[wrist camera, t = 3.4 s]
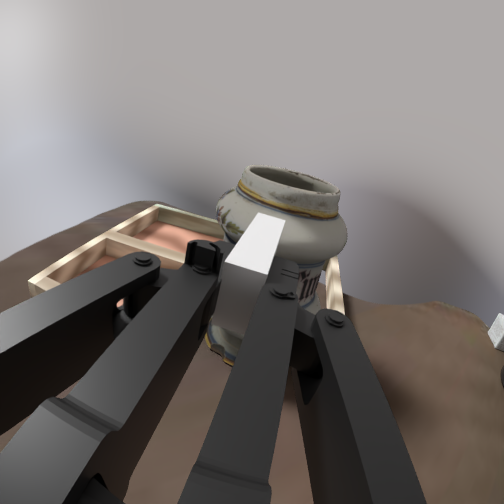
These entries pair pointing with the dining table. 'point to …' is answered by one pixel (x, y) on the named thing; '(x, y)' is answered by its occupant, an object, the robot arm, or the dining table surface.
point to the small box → (497, 332)
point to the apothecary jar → (293, 235)
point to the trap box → (155, 249)
